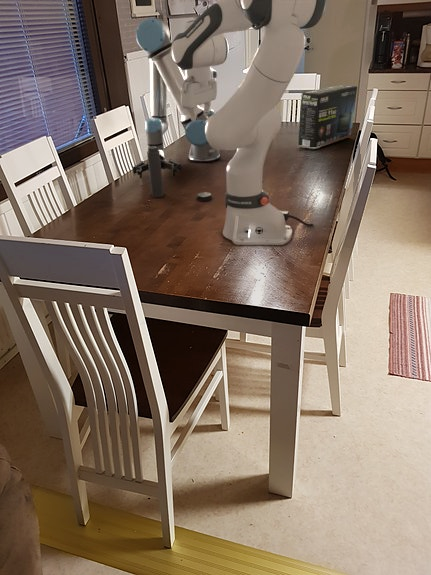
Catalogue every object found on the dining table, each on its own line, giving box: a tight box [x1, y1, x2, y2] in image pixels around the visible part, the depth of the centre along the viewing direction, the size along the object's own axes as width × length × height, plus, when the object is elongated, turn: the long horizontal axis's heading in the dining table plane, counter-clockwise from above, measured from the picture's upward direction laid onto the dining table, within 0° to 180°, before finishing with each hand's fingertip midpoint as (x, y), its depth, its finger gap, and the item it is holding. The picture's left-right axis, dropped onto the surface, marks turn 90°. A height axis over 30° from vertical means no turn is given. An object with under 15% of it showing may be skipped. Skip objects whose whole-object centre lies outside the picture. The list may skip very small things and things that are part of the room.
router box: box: [297, 84, 358, 151], centre depth 238 cm, size 36×11×27 cm, turn 134°
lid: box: [196, 191, 212, 202], centre depth 178 cm, size 5×5×2 cm
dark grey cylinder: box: [146, 146, 165, 198], centre depth 179 cm, size 5×5×19 cm
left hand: (157, 173), depth 188 cm, fingers open, 13 cm apart
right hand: (200, 117), depth 163 cm, fingers open, 8 cm apart
